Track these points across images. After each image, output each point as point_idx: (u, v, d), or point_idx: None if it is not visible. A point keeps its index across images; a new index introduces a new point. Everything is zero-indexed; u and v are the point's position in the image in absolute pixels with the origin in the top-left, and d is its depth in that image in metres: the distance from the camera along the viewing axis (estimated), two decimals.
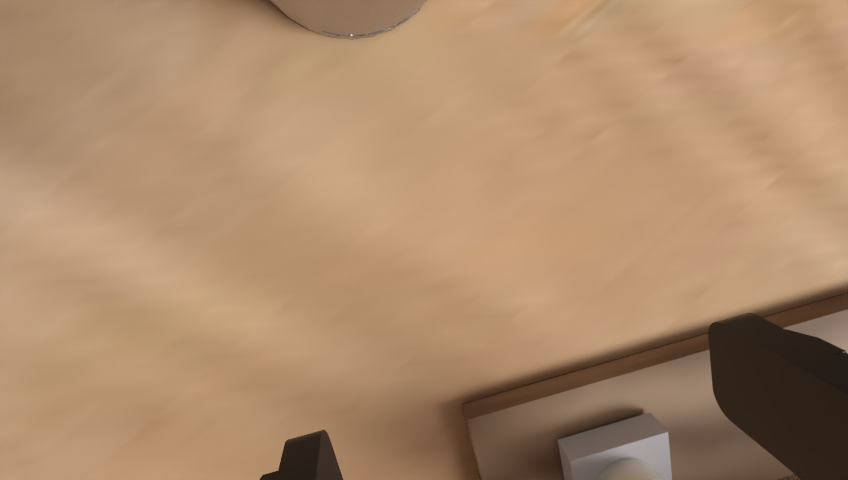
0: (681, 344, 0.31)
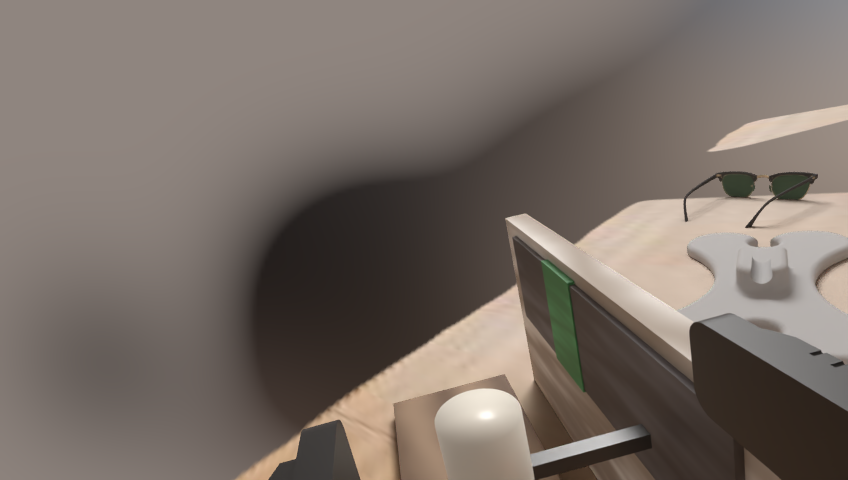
0: None
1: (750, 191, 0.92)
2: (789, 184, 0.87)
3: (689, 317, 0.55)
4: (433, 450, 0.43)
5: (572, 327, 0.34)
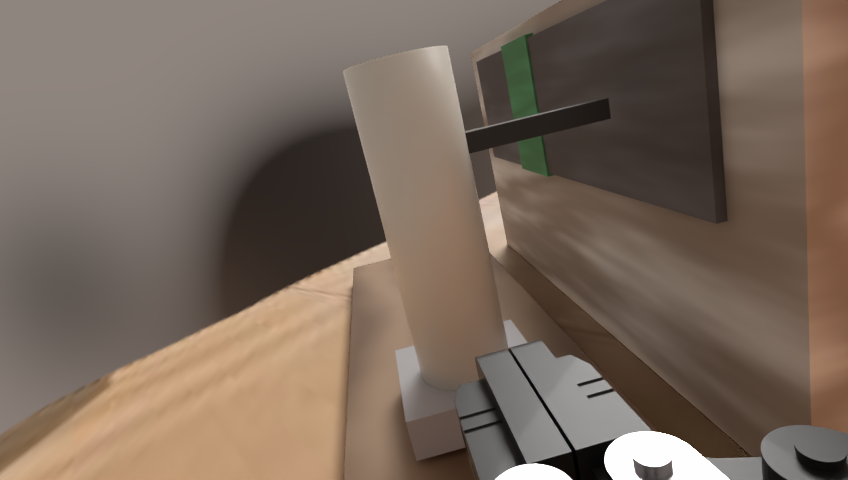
0: None
1: None
2: None
3: None
4: (390, 290, 0.39)
5: (532, 94, 0.30)
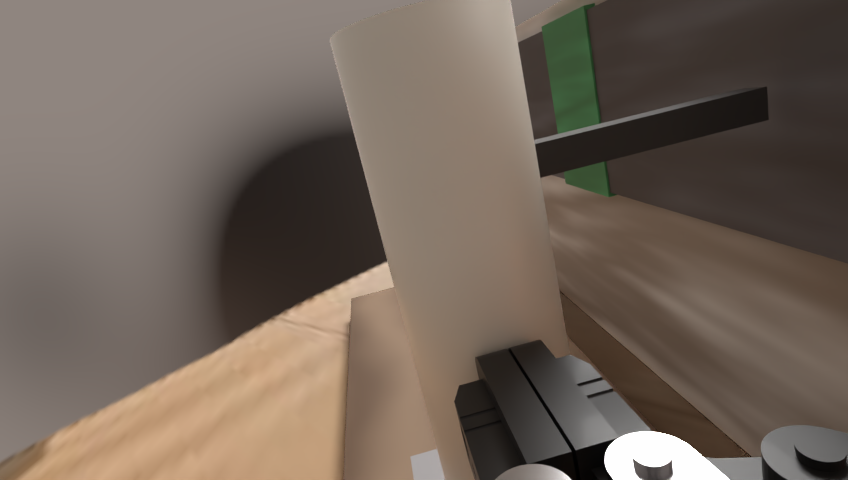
0: None
1: None
2: None
3: None
4: (396, 333, 0.31)
5: (591, 87, 0.22)
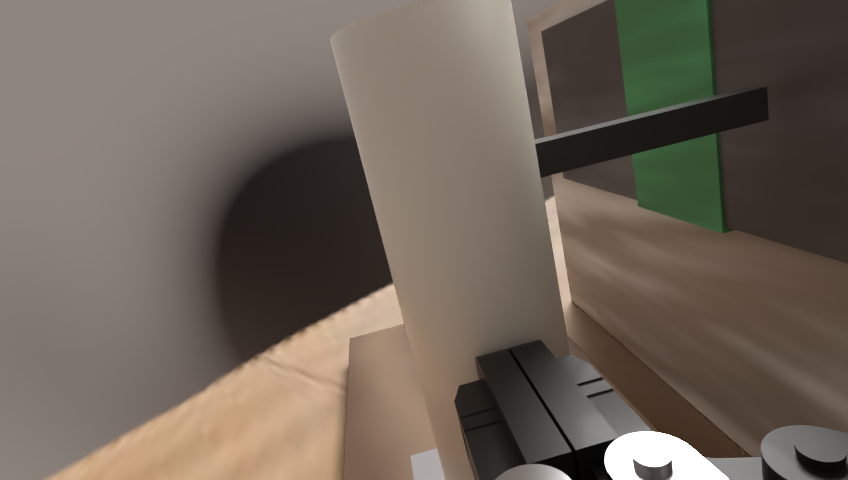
0: None
1: None
2: None
3: None
4: (408, 397, 0.24)
5: (705, 72, 0.15)
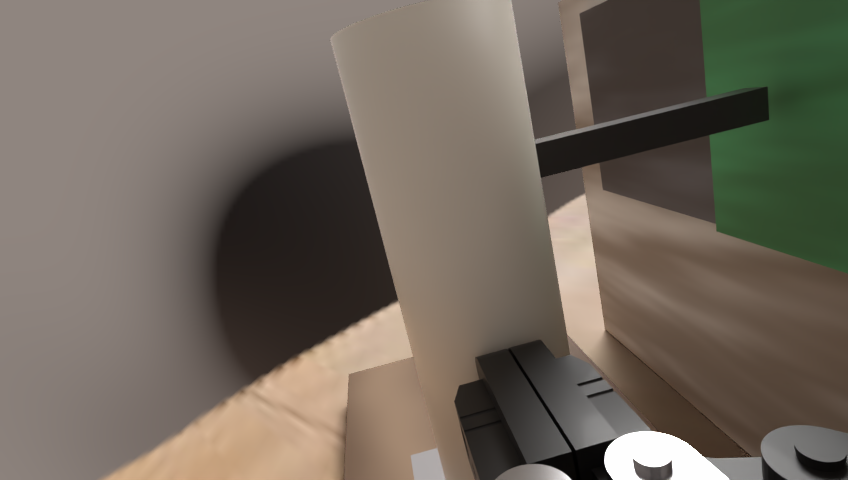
0: None
1: None
2: None
3: None
4: None
5: None
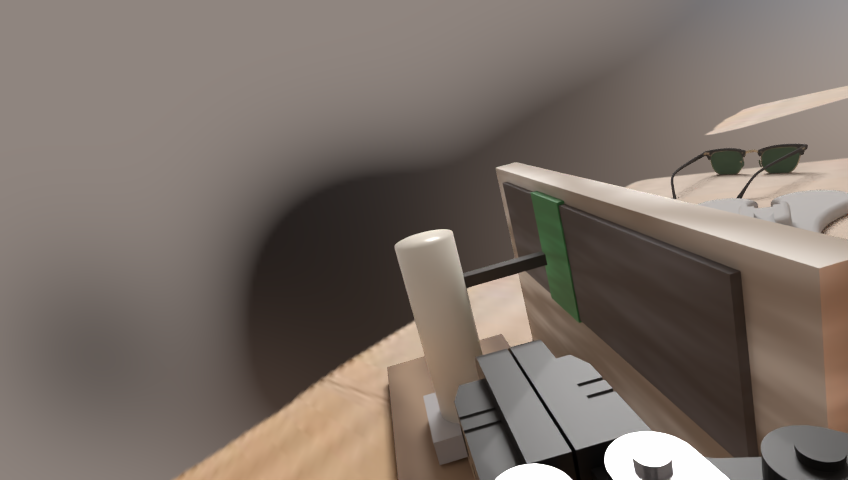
0: None
1: (739, 167, 0.89)
2: (778, 157, 0.84)
3: None
4: None
5: (564, 252, 0.32)
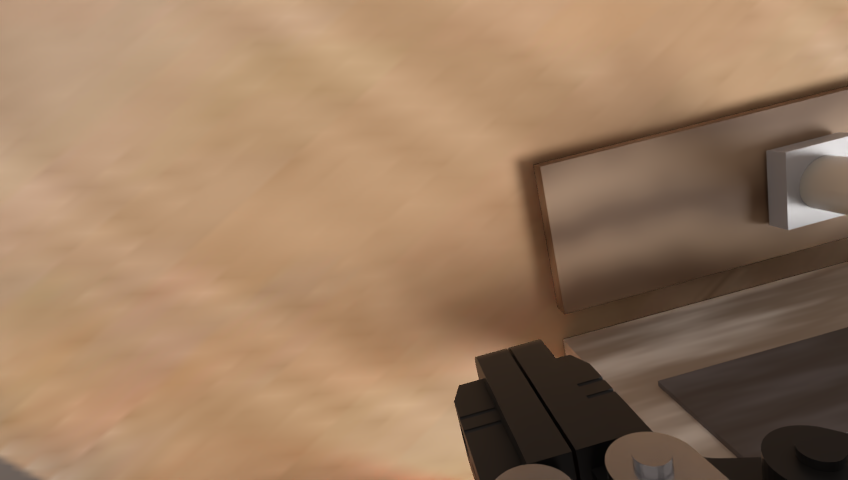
0: (710, 121, 0.38)
1: None
2: None
3: None
4: None
5: None
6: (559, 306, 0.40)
